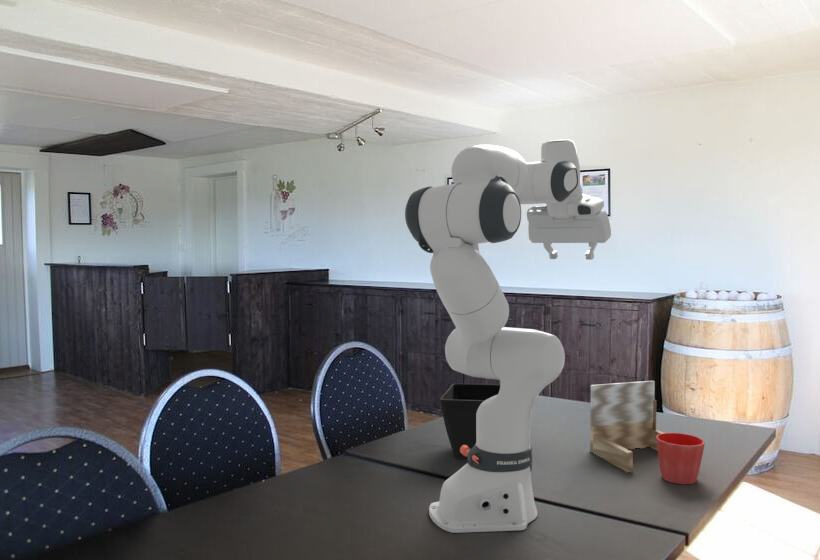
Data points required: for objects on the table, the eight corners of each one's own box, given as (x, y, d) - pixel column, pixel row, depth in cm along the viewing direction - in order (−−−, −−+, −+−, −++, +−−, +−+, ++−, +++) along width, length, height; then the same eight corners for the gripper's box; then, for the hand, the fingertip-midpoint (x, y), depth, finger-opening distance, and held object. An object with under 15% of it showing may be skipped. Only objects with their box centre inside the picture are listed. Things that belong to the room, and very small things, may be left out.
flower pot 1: (439, 462, 176) (439, 397, 175) (452, 441, 194) (452, 382, 193) (514, 468, 171) (514, 401, 170) (520, 445, 189) (520, 385, 188)
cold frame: (627, 472, 167) (628, 399, 166) (590, 451, 184) (590, 385, 183) (694, 465, 172) (695, 394, 171) (652, 445, 189) (652, 380, 188)
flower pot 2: (695, 471, 168) (695, 432, 167) (710, 487, 157) (711, 446, 156) (650, 470, 169) (651, 431, 168) (662, 486, 158) (663, 445, 157)
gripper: (520, 210, 170) (528, 262, 174) (601, 207, 158) (607, 263, 163) (530, 202, 175) (537, 253, 179) (610, 199, 163) (615, 254, 167)
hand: (571, 258), depth 171 cm, fingers open, 8 cm apart
